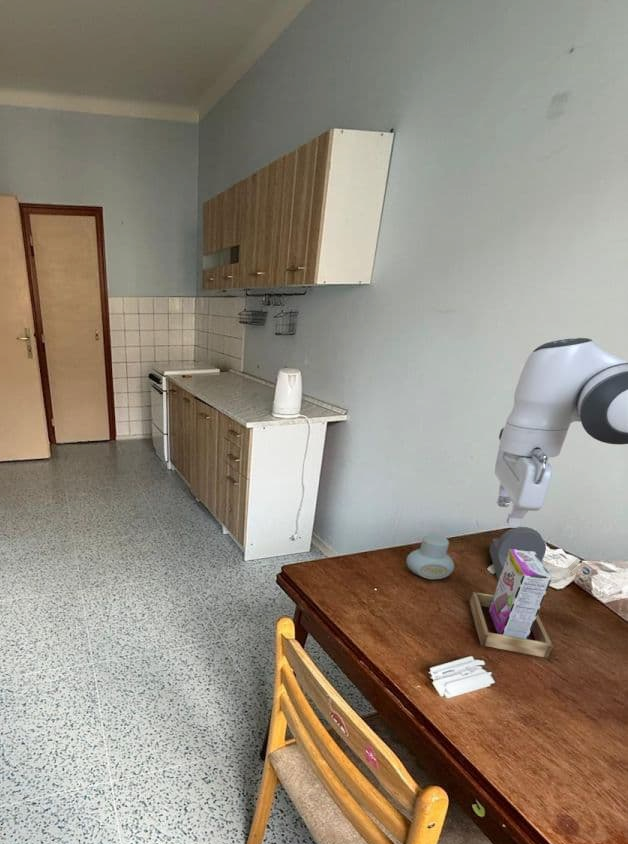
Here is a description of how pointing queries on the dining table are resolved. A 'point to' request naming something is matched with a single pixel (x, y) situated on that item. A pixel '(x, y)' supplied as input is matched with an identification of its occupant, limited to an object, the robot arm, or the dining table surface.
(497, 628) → the candy bar box
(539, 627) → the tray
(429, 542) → the air freshener
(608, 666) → the dining table surface
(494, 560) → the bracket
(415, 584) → the dining table surface
